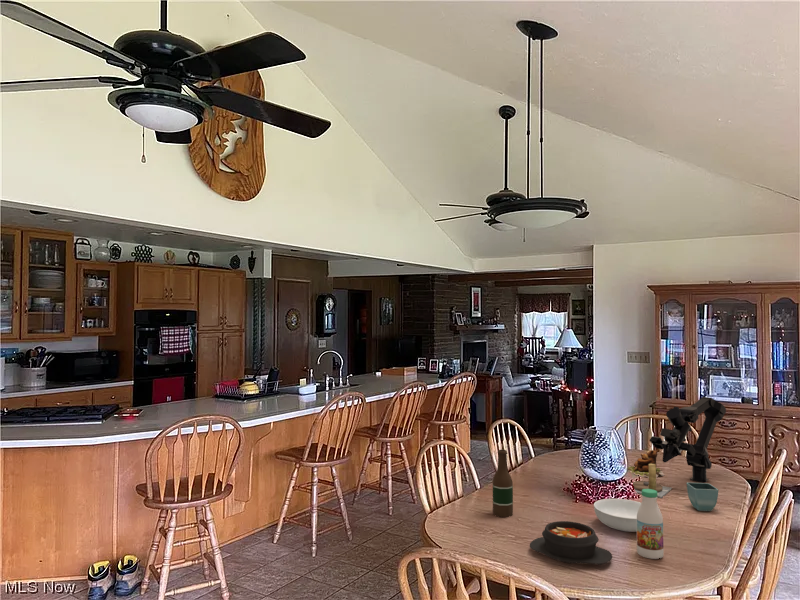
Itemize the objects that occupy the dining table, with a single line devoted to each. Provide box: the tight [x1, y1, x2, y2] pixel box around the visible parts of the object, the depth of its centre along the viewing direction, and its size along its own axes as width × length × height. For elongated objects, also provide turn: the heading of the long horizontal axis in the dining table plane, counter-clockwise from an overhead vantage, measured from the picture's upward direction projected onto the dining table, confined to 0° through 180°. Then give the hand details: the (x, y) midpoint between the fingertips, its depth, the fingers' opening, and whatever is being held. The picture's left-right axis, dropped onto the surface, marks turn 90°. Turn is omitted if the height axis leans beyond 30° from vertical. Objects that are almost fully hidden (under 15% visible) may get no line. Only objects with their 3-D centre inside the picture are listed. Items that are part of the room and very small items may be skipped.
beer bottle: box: [492, 448, 514, 518], centre depth 219 cm, size 8×8×24 cm
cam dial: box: [632, 464, 663, 492], centre depth 248 cm, size 12×12×11 cm
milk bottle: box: [636, 489, 664, 560], centre depth 182 cm, size 8×8×20 cm
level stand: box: [635, 485, 673, 499], centre depth 248 cm, size 16×16×1 cm
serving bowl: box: [593, 498, 642, 533], centre depth 205 cm, size 21×21×7 cm
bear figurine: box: [627, 449, 665, 479], centre depth 274 cm, size 14×15×12 cm
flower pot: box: [686, 482, 719, 512], centre depth 224 cm, size 9×9×9 cm
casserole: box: [529, 520, 613, 565], centre depth 181 cm, size 25×19×8 cm
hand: (663, 461), depth 248 cm, fingers closed
